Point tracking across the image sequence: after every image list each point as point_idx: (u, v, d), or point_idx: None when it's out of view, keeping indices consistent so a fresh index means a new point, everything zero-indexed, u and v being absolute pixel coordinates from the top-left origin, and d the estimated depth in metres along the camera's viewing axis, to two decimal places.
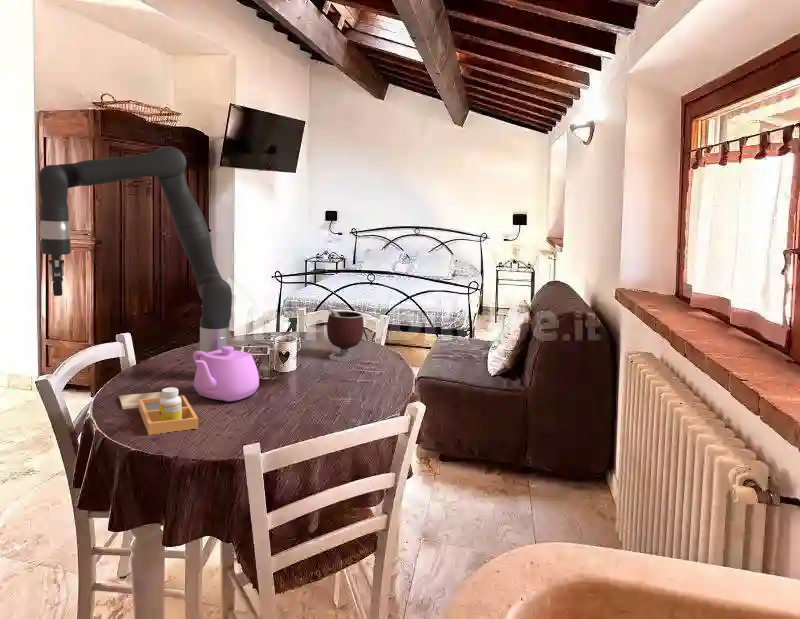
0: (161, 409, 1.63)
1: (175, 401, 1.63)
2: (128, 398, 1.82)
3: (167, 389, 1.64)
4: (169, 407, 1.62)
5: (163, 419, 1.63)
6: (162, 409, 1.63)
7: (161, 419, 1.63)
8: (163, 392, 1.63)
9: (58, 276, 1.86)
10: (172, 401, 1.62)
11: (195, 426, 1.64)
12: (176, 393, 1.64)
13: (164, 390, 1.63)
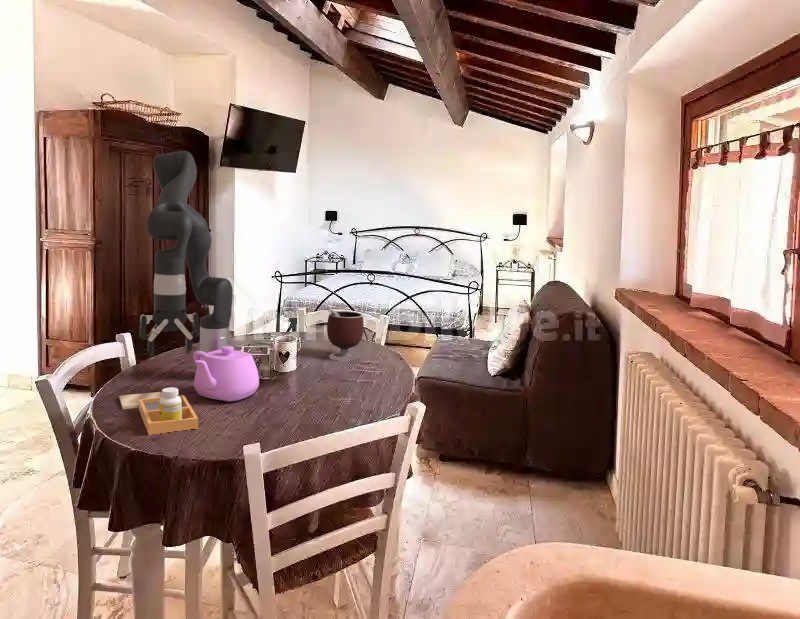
0: (161, 409, 1.63)
1: (175, 401, 1.63)
2: (128, 398, 1.82)
3: (167, 389, 1.64)
4: (169, 407, 1.62)
5: (163, 419, 1.63)
6: (162, 409, 1.63)
7: (161, 419, 1.63)
8: (163, 392, 1.63)
9: None
10: (172, 401, 1.62)
11: (195, 426, 1.64)
12: (176, 393, 1.64)
13: (164, 390, 1.63)
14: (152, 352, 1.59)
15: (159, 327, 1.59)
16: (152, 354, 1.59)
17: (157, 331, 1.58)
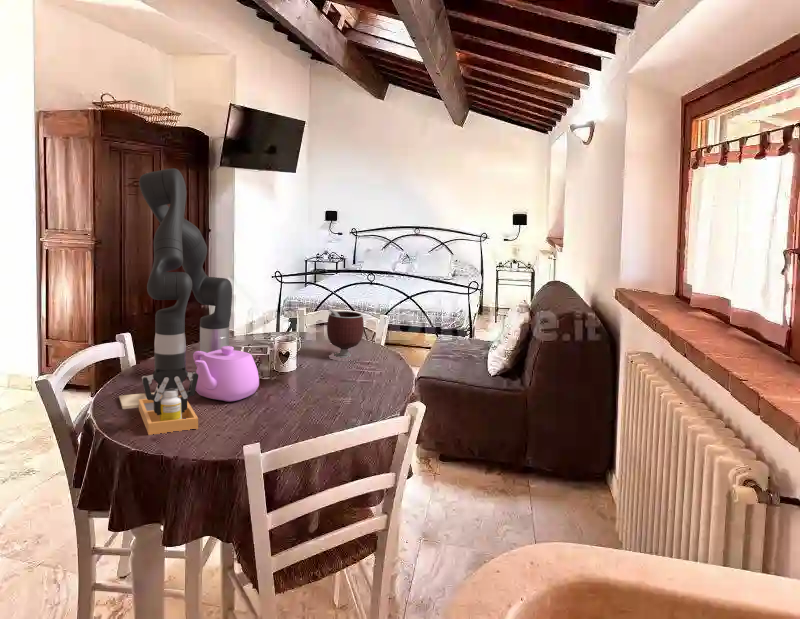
0: (161, 409, 1.63)
1: (175, 401, 1.63)
2: (128, 398, 1.82)
3: (167, 389, 1.64)
4: (169, 407, 1.62)
5: (163, 419, 1.63)
6: (163, 409, 1.63)
7: (161, 419, 1.63)
8: (163, 392, 1.63)
9: None
10: (172, 401, 1.62)
11: (195, 426, 1.64)
12: (176, 393, 1.64)
13: (164, 390, 1.63)
14: (158, 412, 1.63)
15: (161, 386, 1.61)
16: (158, 413, 1.63)
17: (161, 390, 1.61)
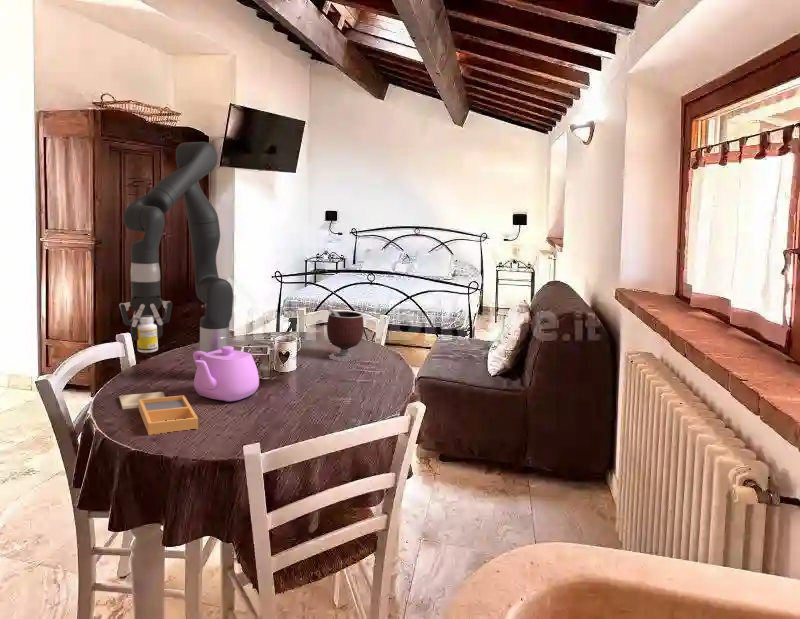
0: (138, 334, 1.76)
1: (151, 327, 1.76)
2: (128, 398, 1.82)
3: (144, 316, 1.77)
4: (146, 332, 1.75)
5: (140, 344, 1.76)
6: (140, 334, 1.76)
7: (138, 343, 1.76)
8: (140, 318, 1.76)
9: None
10: (148, 327, 1.75)
11: (195, 426, 1.64)
12: (152, 319, 1.77)
13: (141, 317, 1.76)
14: (135, 336, 1.76)
15: (138, 312, 1.74)
16: (135, 338, 1.76)
17: (137, 316, 1.74)
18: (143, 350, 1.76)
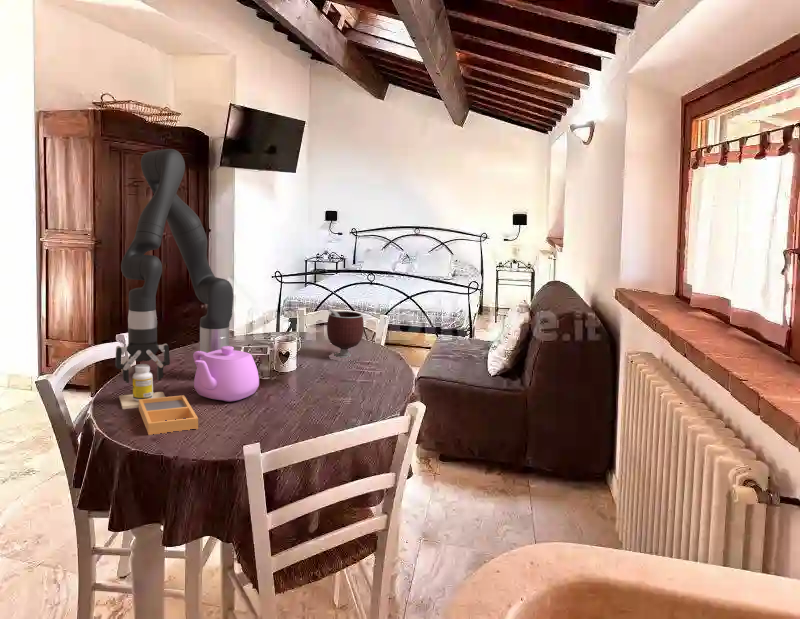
0: (134, 383, 1.80)
1: (147, 376, 1.80)
2: (128, 398, 1.82)
3: (140, 365, 1.81)
4: (141, 381, 1.79)
5: (135, 392, 1.80)
6: (135, 383, 1.79)
7: (134, 392, 1.80)
8: (136, 368, 1.80)
9: None
10: (144, 376, 1.79)
11: (195, 426, 1.64)
12: (148, 369, 1.81)
13: (137, 366, 1.80)
14: (127, 380, 1.79)
15: (133, 357, 1.78)
16: (127, 381, 1.79)
17: (131, 361, 1.78)
18: (138, 399, 1.80)
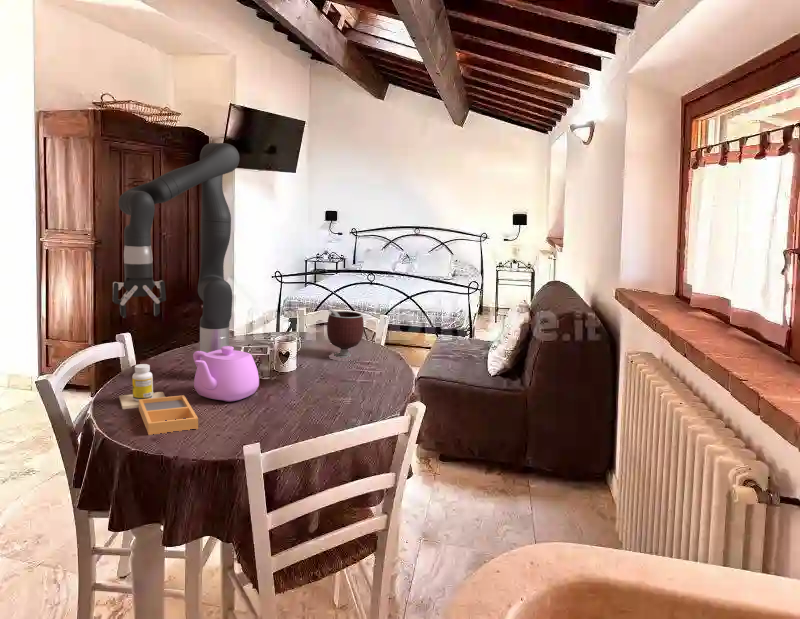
0: (134, 383, 1.80)
1: (147, 376, 1.80)
2: (128, 398, 1.82)
3: (139, 365, 1.81)
4: (141, 381, 1.79)
5: (135, 393, 1.80)
6: (135, 383, 1.79)
7: (134, 392, 1.80)
8: (135, 368, 1.80)
9: None
10: (143, 376, 1.79)
11: (195, 426, 1.64)
12: (147, 369, 1.80)
13: (136, 366, 1.80)
14: (124, 315, 1.82)
15: (130, 293, 1.81)
16: (124, 316, 1.82)
17: (128, 296, 1.81)
18: (138, 399, 1.80)
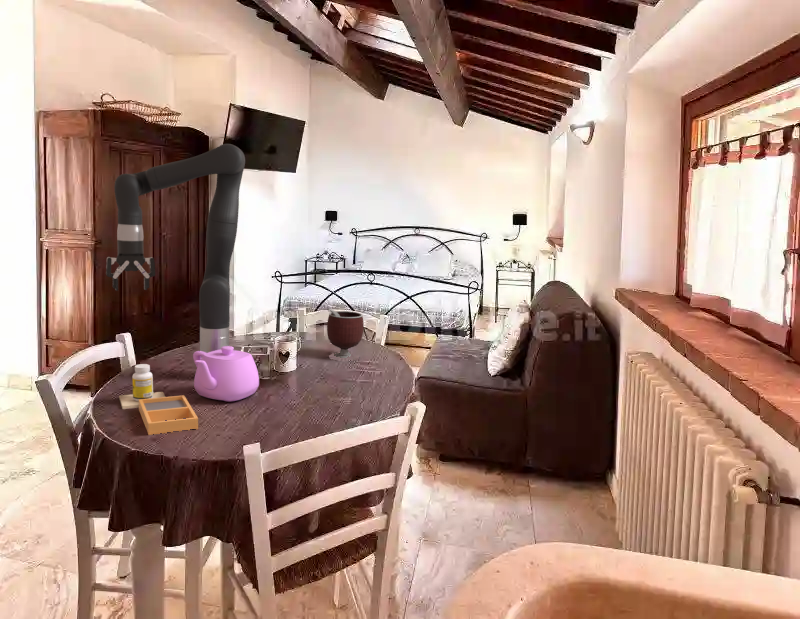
0: (134, 383, 1.80)
1: (147, 376, 1.80)
2: (128, 398, 1.82)
3: (139, 365, 1.81)
4: (141, 381, 1.79)
5: (135, 393, 1.80)
6: (135, 383, 1.79)
7: (134, 392, 1.80)
8: (136, 368, 1.80)
9: None
10: (143, 376, 1.79)
11: (195, 426, 1.64)
12: (147, 369, 1.80)
13: (137, 366, 1.80)
14: (116, 287, 1.99)
15: (122, 267, 1.98)
16: (116, 289, 1.99)
17: (120, 270, 1.98)
18: (138, 399, 1.80)
